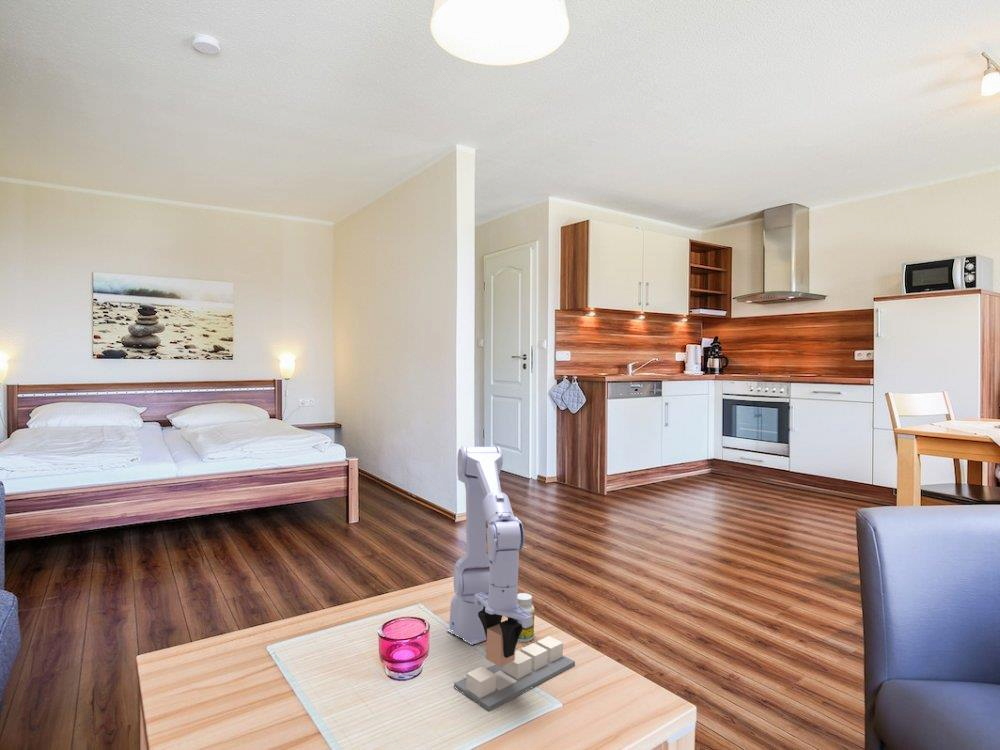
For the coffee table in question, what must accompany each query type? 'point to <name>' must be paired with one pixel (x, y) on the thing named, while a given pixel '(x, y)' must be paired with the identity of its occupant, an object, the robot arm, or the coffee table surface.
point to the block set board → (519, 684)
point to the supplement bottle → (525, 603)
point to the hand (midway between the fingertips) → (500, 651)
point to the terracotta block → (496, 647)
